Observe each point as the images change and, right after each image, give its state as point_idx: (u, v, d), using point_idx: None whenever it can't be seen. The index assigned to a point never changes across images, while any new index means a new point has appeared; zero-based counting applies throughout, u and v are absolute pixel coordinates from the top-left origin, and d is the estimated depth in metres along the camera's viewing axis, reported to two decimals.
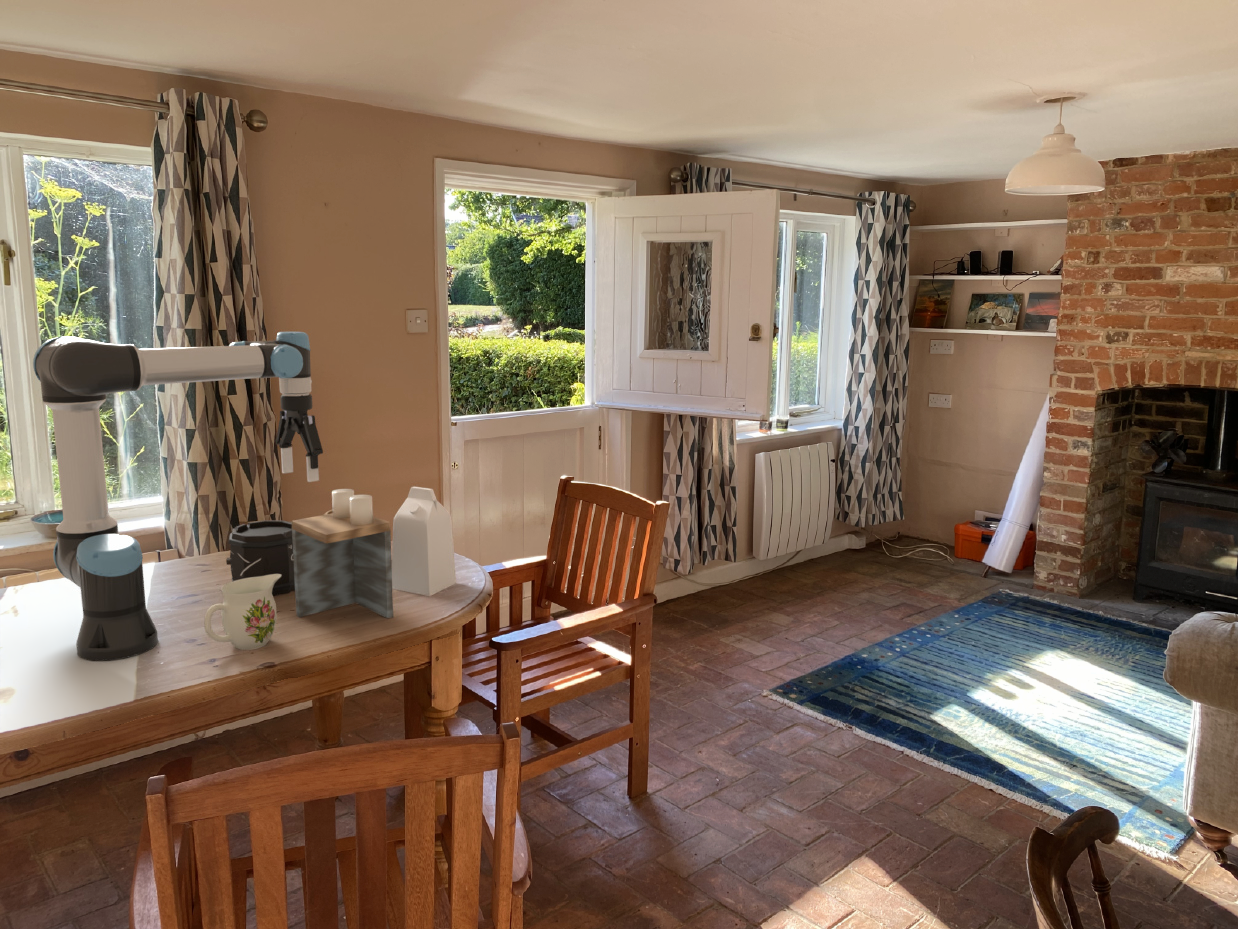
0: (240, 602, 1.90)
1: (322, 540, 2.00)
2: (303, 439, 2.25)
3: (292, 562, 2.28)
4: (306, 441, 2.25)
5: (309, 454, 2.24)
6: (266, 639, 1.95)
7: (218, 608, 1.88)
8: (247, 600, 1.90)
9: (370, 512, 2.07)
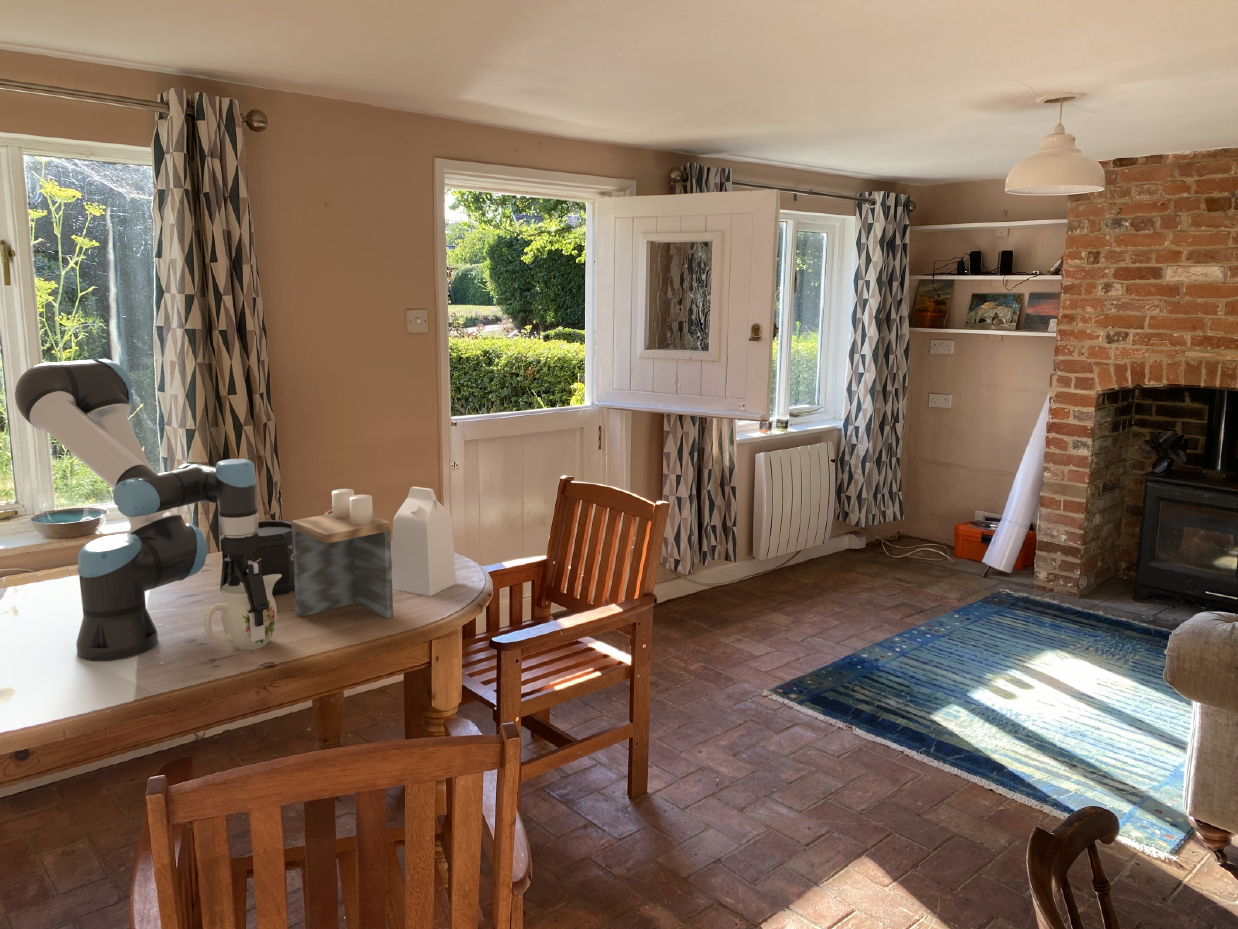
0: (240, 602, 1.90)
1: (322, 540, 2.00)
2: (246, 590, 1.89)
3: (292, 562, 2.28)
4: (250, 593, 1.89)
5: (252, 611, 1.88)
6: (266, 639, 1.94)
7: (218, 608, 1.88)
8: (247, 600, 1.90)
9: (370, 512, 2.07)
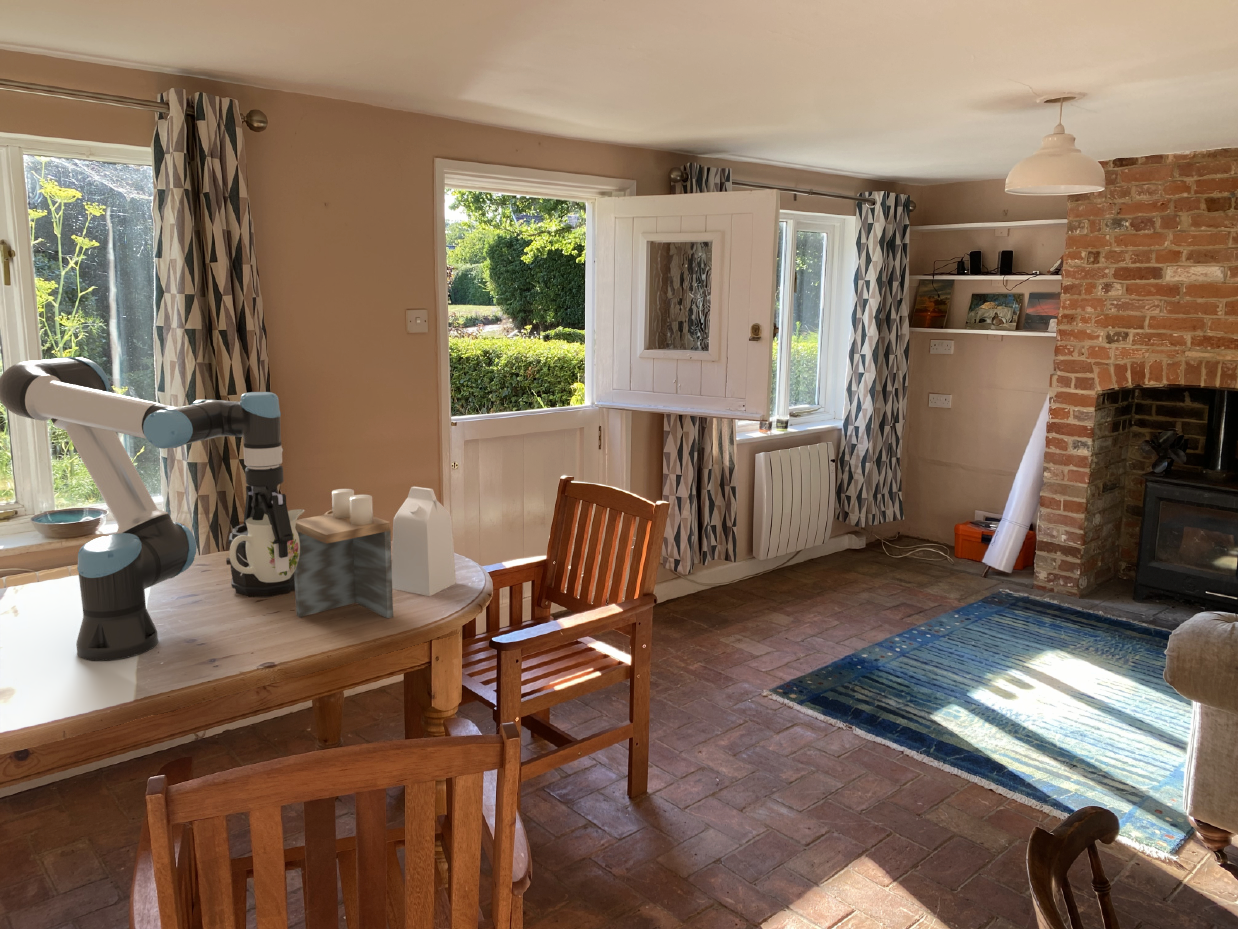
0: (265, 533, 1.91)
1: (322, 540, 2.00)
2: (271, 522, 1.91)
3: None
4: (274, 525, 1.90)
5: (277, 541, 1.89)
6: (290, 572, 1.96)
7: (243, 539, 1.90)
8: (272, 531, 1.91)
9: (370, 512, 2.07)
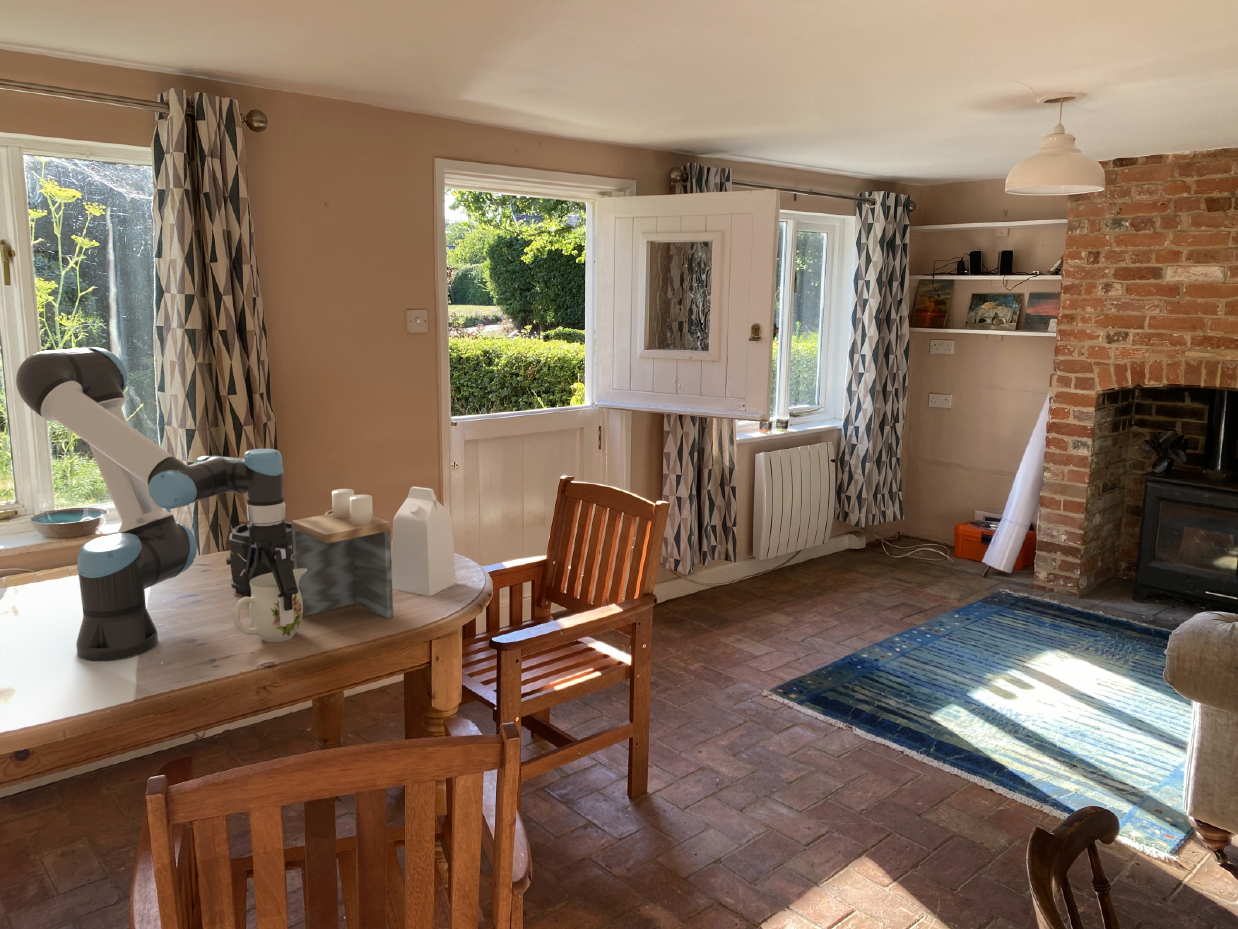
0: (268, 595, 1.94)
1: (322, 540, 2.00)
2: (275, 576, 1.93)
3: (292, 562, 2.28)
4: (278, 578, 1.92)
5: (282, 595, 1.91)
6: (293, 632, 1.99)
7: (247, 601, 1.93)
8: (275, 593, 1.94)
9: (370, 512, 2.07)
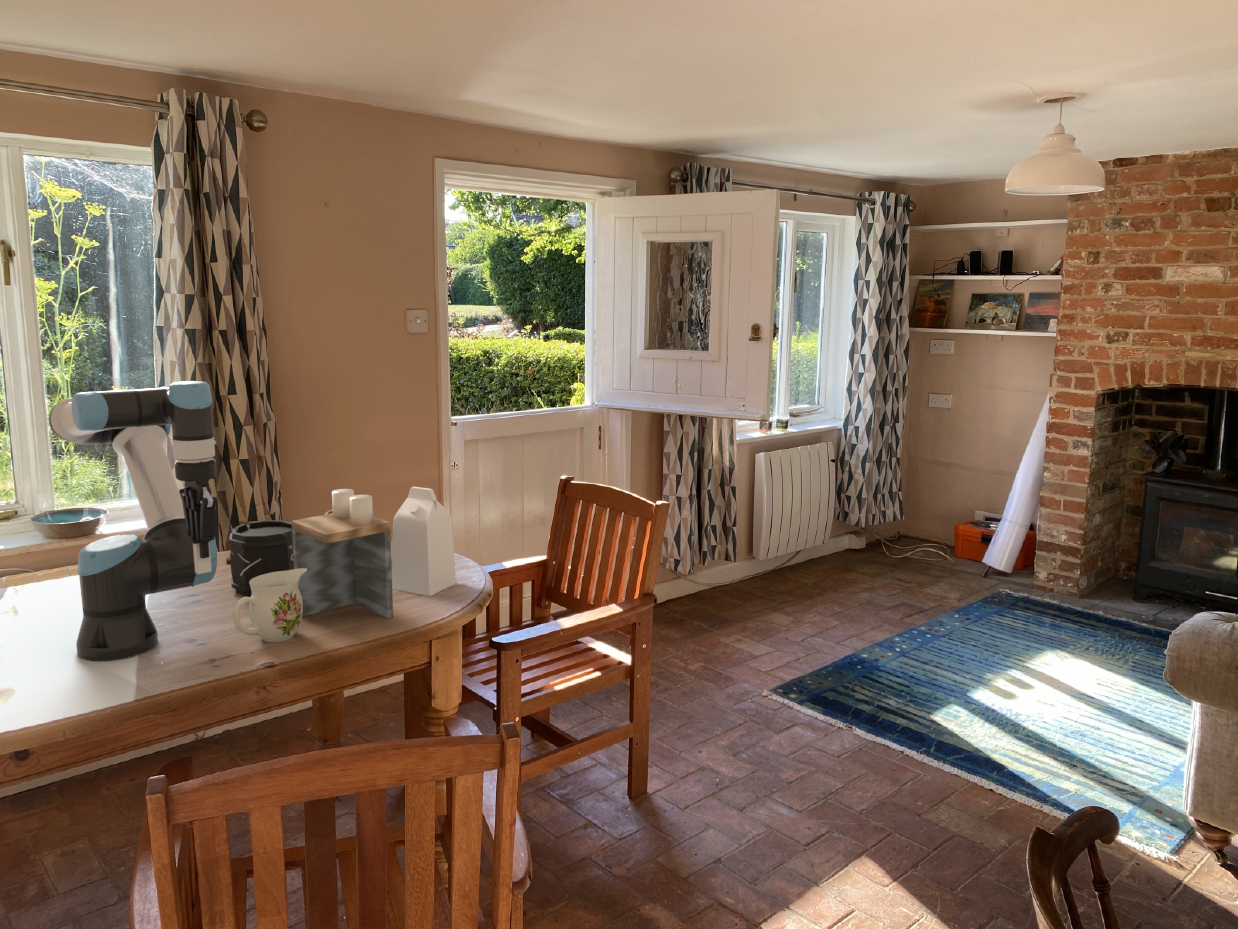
0: (268, 595, 1.94)
1: (322, 540, 2.00)
2: (196, 520, 1.82)
3: (292, 562, 2.28)
4: (198, 525, 1.83)
5: (197, 543, 1.83)
6: (293, 632, 1.99)
7: (247, 601, 1.93)
8: (275, 593, 1.94)
9: (370, 512, 2.07)
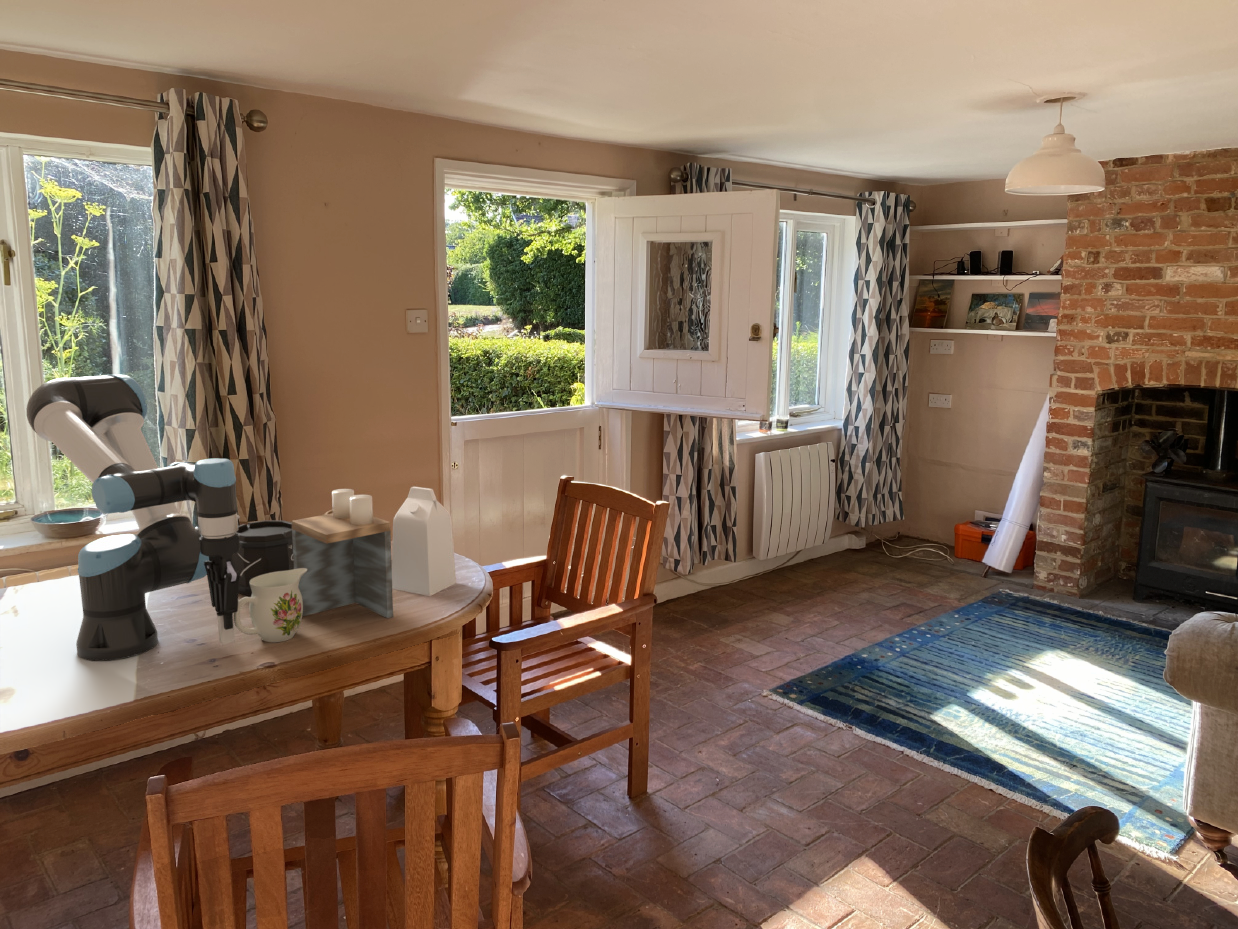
0: (268, 595, 1.94)
1: (322, 540, 2.00)
2: (220, 593, 1.88)
3: (292, 562, 2.28)
4: (222, 598, 1.88)
5: (221, 615, 1.89)
6: (293, 632, 1.99)
7: (247, 601, 1.93)
8: (275, 593, 1.94)
9: (370, 512, 2.07)
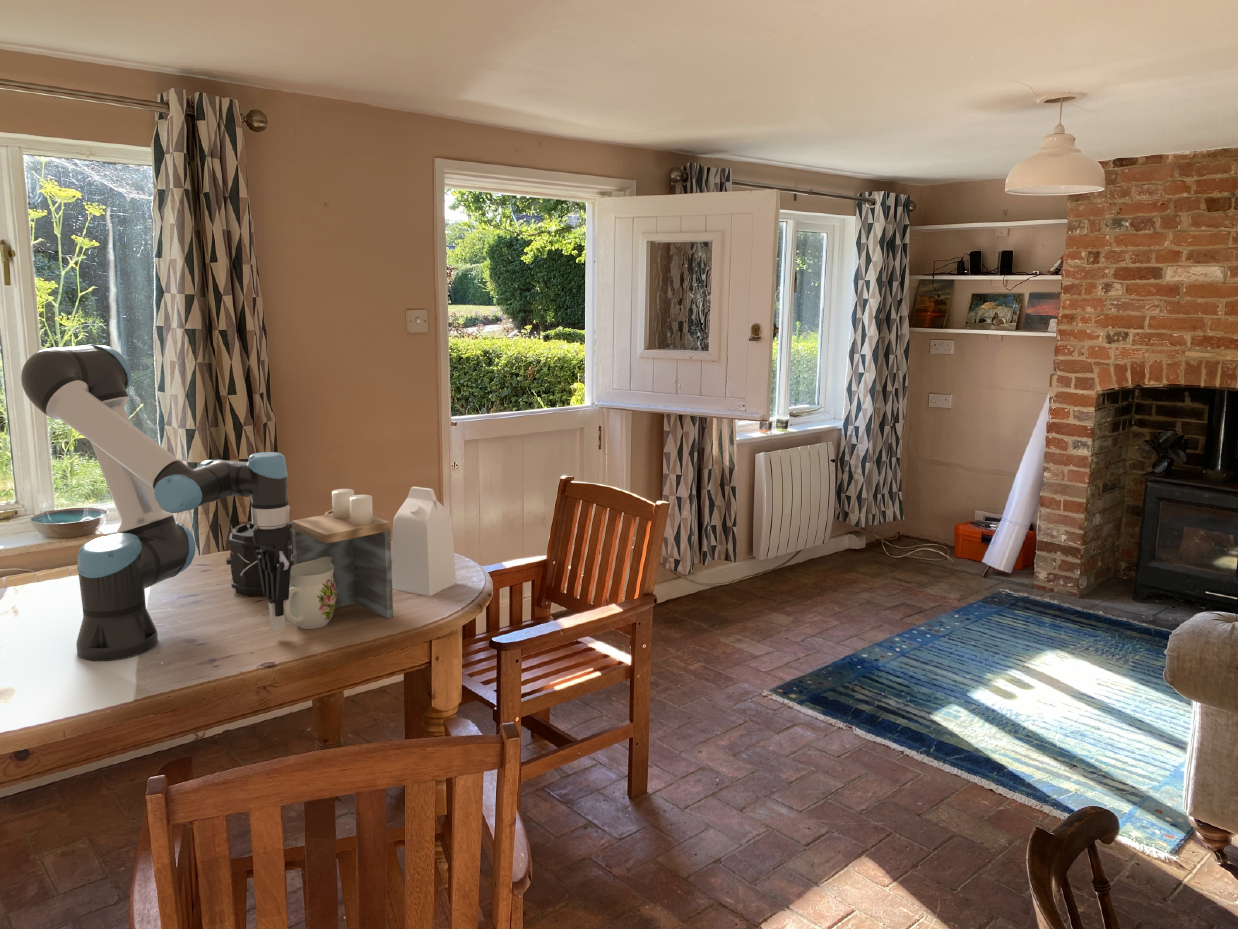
0: (313, 583, 2.02)
1: (322, 540, 2.00)
2: (272, 581, 1.96)
3: (292, 562, 2.28)
4: (274, 586, 1.96)
5: (273, 602, 1.96)
6: (331, 616, 2.08)
7: (294, 591, 2.00)
8: (320, 580, 2.03)
9: (370, 512, 2.07)
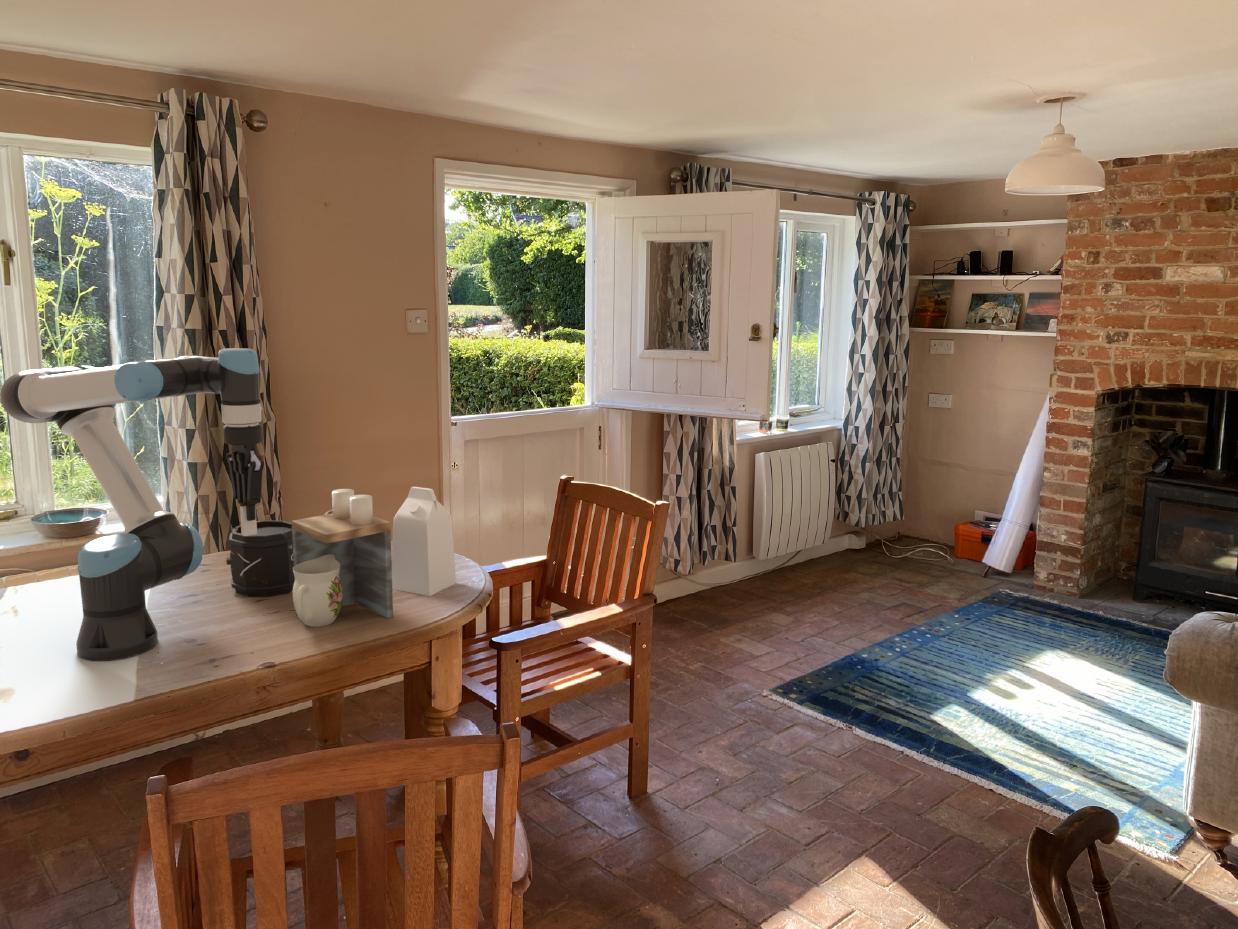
0: (322, 580, 2.04)
1: (322, 540, 2.00)
2: (243, 483, 1.88)
3: (292, 562, 2.28)
4: (246, 488, 1.88)
5: (244, 505, 1.89)
6: (338, 613, 2.10)
7: (305, 589, 2.01)
8: (329, 578, 2.05)
9: (370, 512, 2.07)
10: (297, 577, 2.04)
